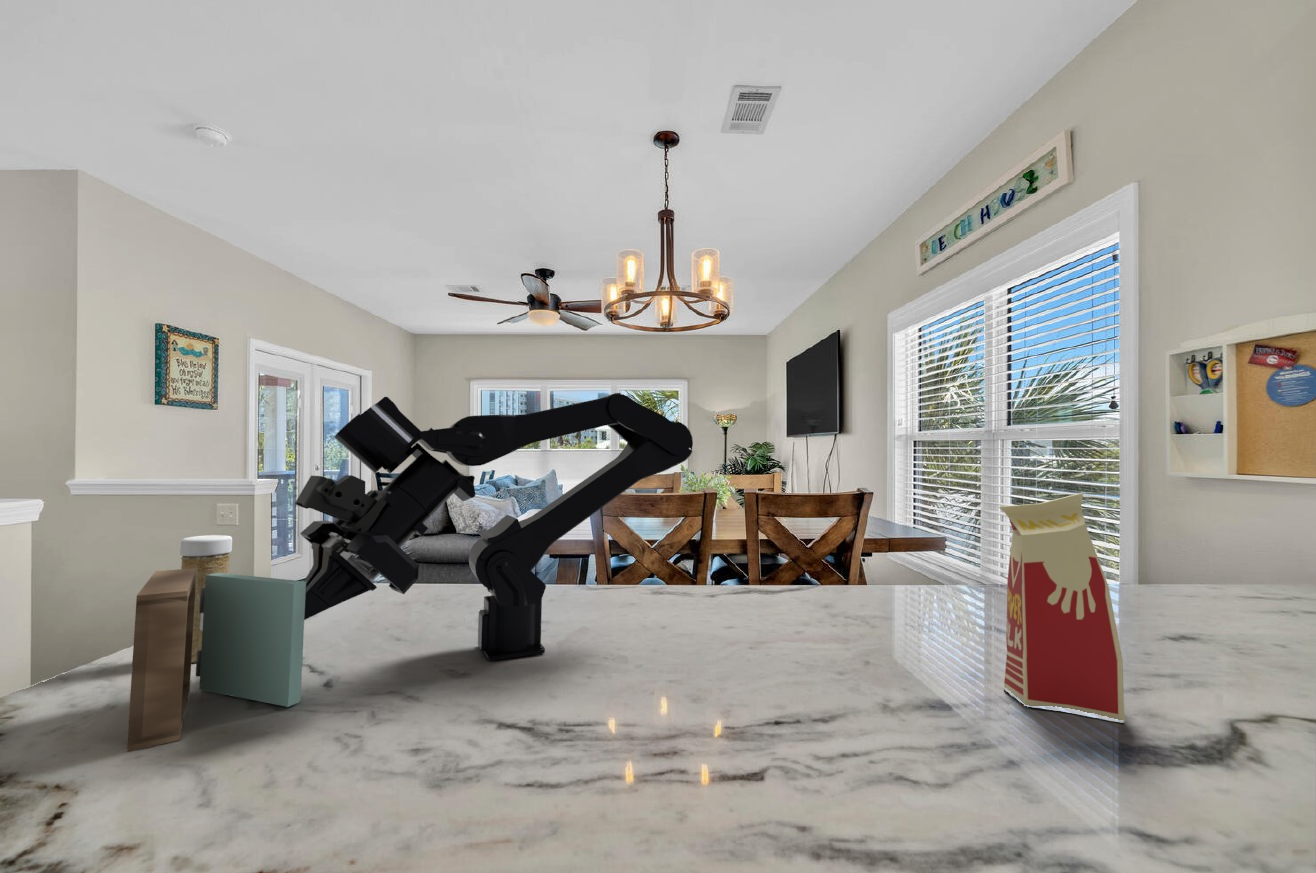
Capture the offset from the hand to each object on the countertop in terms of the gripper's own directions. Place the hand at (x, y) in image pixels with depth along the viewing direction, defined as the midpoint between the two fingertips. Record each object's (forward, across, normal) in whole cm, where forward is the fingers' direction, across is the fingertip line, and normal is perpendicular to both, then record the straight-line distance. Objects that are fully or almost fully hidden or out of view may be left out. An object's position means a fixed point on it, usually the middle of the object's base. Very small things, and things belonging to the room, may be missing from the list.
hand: (285, 622), depth 53 cm
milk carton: (-33, +53, +42) cm, 75 cm away
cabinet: (+11, -2, -1) cm, 11 cm away
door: (+6, -2, +3) cm, 7 cm away
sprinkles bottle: (+8, -18, +2) cm, 20 cm away
